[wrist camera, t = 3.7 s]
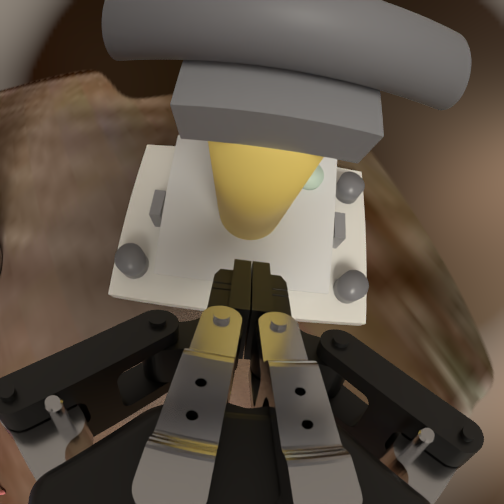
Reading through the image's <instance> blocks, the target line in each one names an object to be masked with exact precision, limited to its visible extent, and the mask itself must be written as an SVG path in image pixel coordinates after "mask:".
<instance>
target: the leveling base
mask: <svg viewBox="0 0 504 504" xmlns="http://www.w3.org/2000/svg"><path fill="white" fill-rule="evenodd" d="M175 147H176V146H163V145H147V147H146V150H145V153H144V156H143V159H142V162H141V165H140V169H139V172H138V175H137V178H136V182H135V185H134V188H133V192H132V195H131V199H130V202H129V206H128V210H127V213H126V217H125V221H124V225H123V229H122V233H121V237H120V241H119V245H118V250H117V251H116V254H115V259H114V260H115V263H114V268H113V272H112V277H111V282H110V287H109V293H108V294H109V295H111V296H112V297H114V298H120V299H126V300H132V301H138V302H144V303H151V304H157V305H164V306H170V307H177V308H184V309H192V310H199V311H204V310H205V309H207V306H208V301H209V297H210V292H211V288H212V283H213V281H205V280H198V279H190V278H182V277H175V276H167V275H160V274H154V266H155V259H156V252H157V245H158V238H159V232H160V225H161V219H162V213H163V208H164V202H165V196H166V191H167V186H168V180H169V175H170V170H171V165H172V161H173V156H174V151H175ZM364 187H365V185H364V181H363V179H362V172H359V171H354V170H349V169H344V168H339V167H337V173H336V199H335V218H334V234H333V248H332V260H331V272H330V283H329V293H328V294H322V293H312V292H302V291H292V290H288V295H289V296H288V297H289V302H290V308H291V315H292V317H293V318H294V319H295V320H296V321H301V322H313V323H326V324H341V325H358V326H360V325H363V324H366V293H367V291H368V287H369V284H368V280H367V278H366V234H365V213H364V197H363V190H364Z"/></svg>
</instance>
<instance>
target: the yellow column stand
mask: <svg viewBox="0 0 504 504" xmlns="http://www.w3.org/2000/svg"><path fill="white" fill-rule="evenodd" d="M102 34H103V39H104V44H105V47H106V49H107V51H108V53H109V54H110V56H111V57H112V58H113V59H115V60H118V61H121V60H146V59H180V60H183V63H182V66H181V70H180V73H179V76H178V80H177V83H176V86H175V90H174V93H173V97H172V100H171V104H170V106H171V109H172V112H173V115H174V118H175V122H176V125H177V128H178V131H179V134H180V135H178V138H177V142H176V147H175V151H174V156H173V161H172V165H171V170H170V175H169V180H168V186H167V191H166V196H165V202H164V208H163V213H162V219H161V225H160V232H159V238H158V245H157V252H156V259H155V266H154V274H160V275H167V276H175V277H182V278H190V279H198V280H205V281H213V279H214V274H215V273H216V272H218V271H219V270H220V269H228V270H233V267H234V260H235V259H240V260H249V261H251V268H252V262H253V261H257V262H266V263H270V272H271V275H279V276H281V277H282V278H283V279H284V280H285V281H286V283H287V289H288V290H292V291H302V292H312V293H322V294H328V293H329V283H330V272H331V260H332V248H333V234H334V218H335V199H336V173H337V159H338V160H343V161H348V162H353V163H359V161H360V160H361V159H362V158H363V157H364V156H365V155H366V154H367V153H368V152H369V151H370V150H371V149H372V148H373V147H374V146H375V145H376V144H377V143H378V142H379V141H380V139H382V138H383V136H384V135H383V120H382V108H381V97H380V90H381V91H385V92H388V93H391V94H394V95H398V96H401V97H404V98H407V99H410V100H413V101H416V102H419V103H421V104H425V105H427V106H430V107H433V108H435V109H438V110H445V109H448V108H450V107H452V106H453V105H454V104H455V103H456V102H457V101H458V100H459V99H460V97H461V96H462V94H463V93H464V91H465V89H466V86H467V84H468V80H469V76H470V71H471V54H470V49H469V46H468V44H467V41H466V40H465V38H464V37H463V36H462V35H461V34H459V33H457V32H456V31H454V30H452V29H449V28H448V27H445V26H443V25H441V24H439V23H437V22H435V21H432V20H430V19H428V18H426V17H423V16H421V15H418V14H416V13H414V12H411V11H409V10H406V9H404V8H401V7H398V6H396V5H393V4H390V3H387V2H384V1H381V0H105V3H104V7H103V13H102Z"/></svg>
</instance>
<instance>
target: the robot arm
mask: <svg viewBox="0 0 504 504" xmlns="http://www.w3.org/2000/svg"><path fill="white" fill-rule="evenodd" d="M1 264H2V254H1V247H0V270H1ZM288 296H289V295H288V289H287V283H286V281H285V280H284V279H283V278H282V277H281V276H279V275H271V272H270V263H266V262H257V261H253V262H252V268H251V261H249V260H240V259H235V260H234V267H233V270H228V269H220V270H219V271H218V272H216V273H215V274H214V279H213V283H212V288H211V292H210V297H209V301H208V306H207V309H205V310H204V311H203V313H202V315H201V317H200V318H198V319H196V320H192V321H186V322H178V319H177V317H176V316H175V315H174V314H172V313H170V312H168V311H164V310H151V311H147V312H145V313H143V314H140V315H138V316H136V317H134V318H132V319H130V320H127V321H125V322H123V323H121V324H119V325H117V326H114V327H112V328H110V329H108V330H106V331H103V332H101V333H99V334H97V335H95V336H93V337H90V338H88V339H86V340H84V341H82V342H79V343H77V344H75V345H73V346H71V347H68V348H66V349H64V350H62V351H60V352H57V353H55V354H53V355H51V356H49V357H46V358H44V359H42V360H40V361H37V362H35V363H33V364H31V365H29V366H26V367H24V368H22V369H20V370H17V371H15V372H13V373H11V374H8V375H6V376H4V377H2V378H0V421H1V423H2V425H3V426H4V428H5V429H6V430H7V432H8V433H9V434H10V436H11V437H12V438H13V439H14V441H15V442H16V444H17V446H18V448H19V450H20V452H21V454H22V456H23V458H24V460H25V461H26V463H27V465H28V467H29V469H30V470H31V472H32V474H33V476H34V477H35V479H36V481H37V482H36V483H35V484H34V486H33V488H32V490H31V493H30V496H29V503H28V504H434V503H435V501H436V500H437V499H438V497H439V496H440V494H441V493H442V491H443V490H444V488H445V487H446V485H447V484H448V482H449V480H450V479H451V478H452V476H453V474H454V473H455V471H457V470H458V469H459V468H460V467H461V466H462V465H464V464H465V463H466V462H467V461H468V460H469V459H470V458H471V457H472V456H473V455H474V454H475V453H477V452H478V451H479V450H480V449H481V447H482V445H483V442H484V436H483V433H482V430H481V429H480V427H479V426H478V425H477V424H476V423H475V422H474V421H472V420H471V419H469V418H468V417H466V416H465V415H464V414H462V413H461V412H459V411H458V410H456V409H455V408H454V407H452V406H451V405H449V404H448V403H447V402H445V401H444V400H442V399H441V398H439V397H438V396H437V395H435V394H434V393H432V392H431V391H430V390H428V389H427V388H425V387H424V386H422V385H421V384H420V383H418V382H417V381H415V380H414V379H413V378H411V377H410V376H408V375H407V374H406V373H404V372H403V371H401V370H400V369H399V368H397V367H396V366H394V365H393V364H392V363H390V362H389V361H387V360H386V359H385V358H383V357H382V356H380V355H379V354H378V353H376V352H375V351H373V350H372V349H371V348H369V347H368V346H366V345H365V344H364V343H362V342H361V341H359V340H358V339H357V338H355V337H354V336H352V335H351V334H349V333H347V332H345V331H342V330H328V331H325V332H324V333H323V334H322V335H321V338H320V337H317V336H313V335H310V334H307V333H305V332H303V331H301V330H300V329H299V326H298V323H297V321H296V320H295V319H294V318H293V317H292V315H291V308H290V302H289V297H288ZM244 345H245V350H244ZM243 351H244V359H250V369H249V376H248V377H249V390H250V402H251V408H243V407H240V406H236V405H233V404H230V403H229V401H230V396H231V390H232V384H233V379H234V373H235V370H236V368H237V365H238V358H239V359H242V358H243ZM141 362H142V363H141ZM139 363H140V364H139ZM137 364H139V365H137ZM135 365H137V366H135ZM133 366H135V367H133ZM131 367H133V368H131ZM130 368H131V369H130ZM128 369H129V370H128ZM126 370H128V371H126ZM124 371H126V372H124ZM123 372H124V373H123ZM345 380H347V381H348V382H349V383H350V384H352V385H353V386H354V387H355V388H357V389H358V390H359V391H360V392H362V393H363V394H364V395H365V396H366V397H367V399H368V402H369V405H367V404H366V403H365V402H363V401H362V400H361V399H360V398H358V397H357V396H356V395H355V394H353V393H352V392H351V391H350V390H348V389H347V388H346V387H345V386H343V383H344V381H345ZM167 392H168V394H167V397H166V399H165V402H164V405H160V406H157V407H154V408H151V409H149V410H147V411H145V412H143V413H142V414H140V415H139V416H137V417H136V418H134V419H133V420H131V421H130V422H128V423H127V424H125V425H123V426H122V427H120V428H119V429H117V430H116V431H114V432H113V433H111V434H109V435H108V436H106V437H105V438H103V439H102V440H100V441H98V442H97V443H95V444H93V437H94V436H96V435H98V434H99V433H101V432H103V431H105V430H106V429H108V428H110V427H111V426H113V425H115V424H117V423H118V422H120V421H122V420H123V419H125V418H127V417H128V416H130V415H132V414H133V413H135V412H137V411H138V410H140V409H142V408H143V407H145V406H146V405H148V404H150V403H151V402H153V401H154V400H156V399H158V398H159V397H161V396H162V395H164V394H166V393H167Z"/></svg>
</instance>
